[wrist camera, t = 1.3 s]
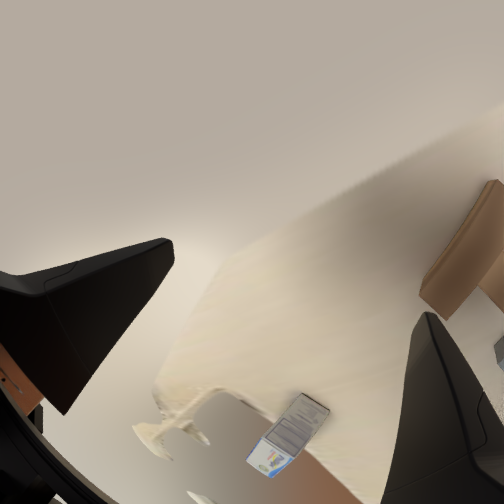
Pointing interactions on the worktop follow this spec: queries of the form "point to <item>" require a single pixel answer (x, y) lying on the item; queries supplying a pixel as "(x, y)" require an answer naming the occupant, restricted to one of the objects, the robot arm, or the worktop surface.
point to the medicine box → (287, 436)
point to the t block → (471, 257)
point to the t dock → (500, 353)
